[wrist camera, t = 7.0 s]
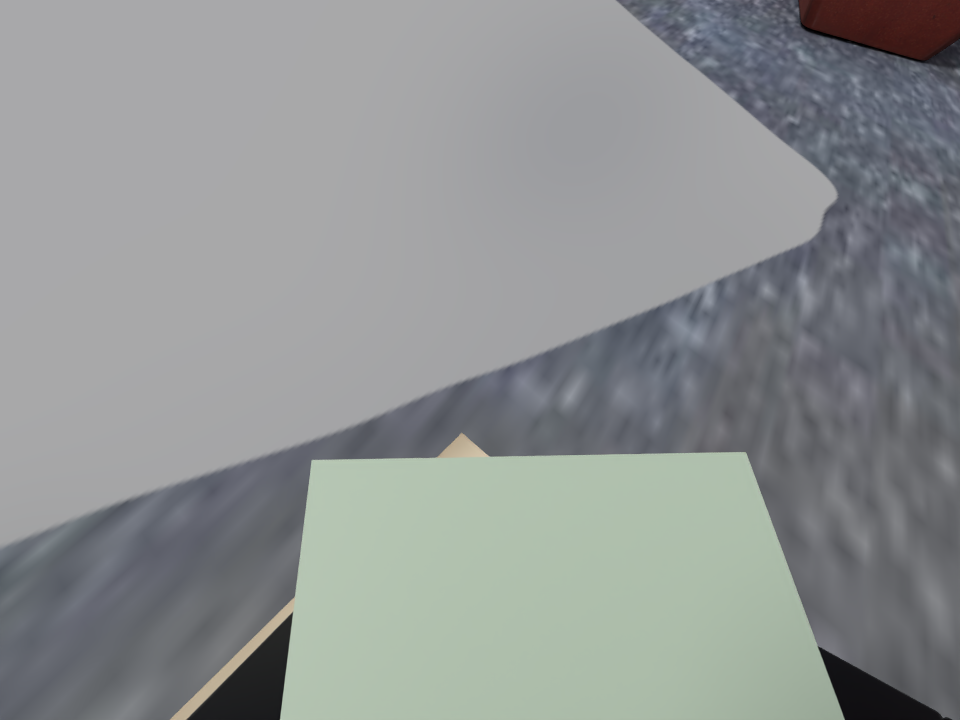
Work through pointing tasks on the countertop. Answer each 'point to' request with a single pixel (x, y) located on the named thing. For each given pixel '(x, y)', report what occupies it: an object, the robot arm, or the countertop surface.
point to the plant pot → (888, 23)
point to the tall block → (547, 593)
